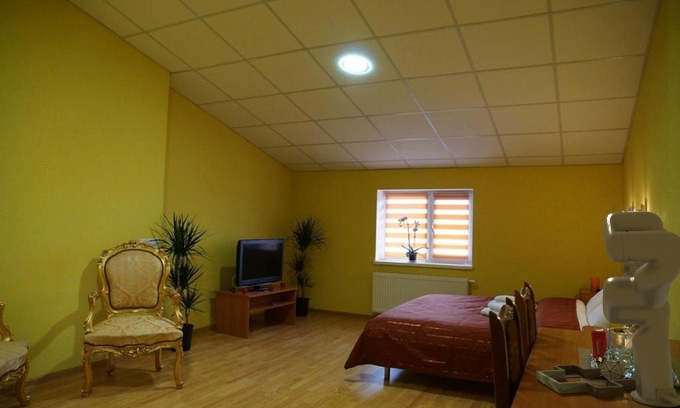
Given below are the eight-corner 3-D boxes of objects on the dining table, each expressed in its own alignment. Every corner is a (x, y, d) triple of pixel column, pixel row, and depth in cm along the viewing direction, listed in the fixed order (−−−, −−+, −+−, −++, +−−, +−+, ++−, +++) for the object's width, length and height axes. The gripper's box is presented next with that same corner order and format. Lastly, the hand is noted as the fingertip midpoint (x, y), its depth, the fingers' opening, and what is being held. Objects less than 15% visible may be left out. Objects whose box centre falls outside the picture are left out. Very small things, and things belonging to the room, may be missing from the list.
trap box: (662, 394, 144) (661, 384, 144) (569, 399, 142) (568, 389, 142) (608, 371, 171) (607, 362, 171) (528, 375, 169) (528, 366, 169)
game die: (621, 395, 155) (635, 375, 150) (594, 385, 157) (607, 365, 152) (616, 375, 163) (630, 356, 158) (591, 366, 164) (604, 346, 159)
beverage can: (600, 363, 181) (598, 331, 182) (590, 360, 186) (588, 329, 187) (611, 361, 183) (608, 330, 184) (600, 358, 188) (598, 328, 189)
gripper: (620, 271, 157) (624, 323, 155) (668, 269, 158) (673, 321, 156) (605, 270, 164) (610, 319, 163) (652, 268, 165) (656, 317, 164)
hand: (641, 320), depth 159 cm, fingers open, 9 cm apart
